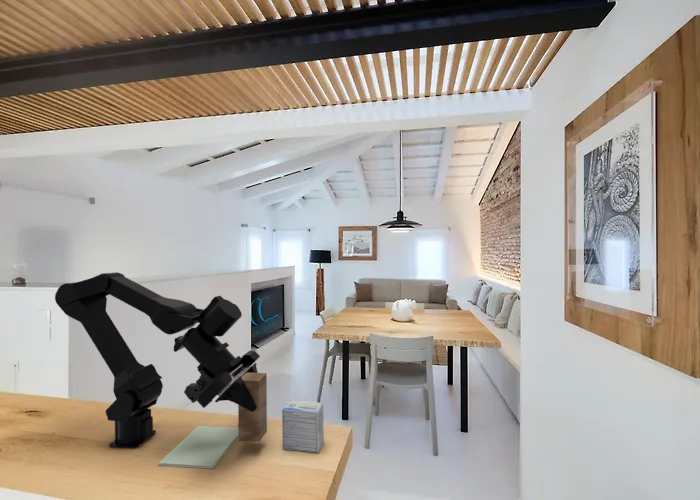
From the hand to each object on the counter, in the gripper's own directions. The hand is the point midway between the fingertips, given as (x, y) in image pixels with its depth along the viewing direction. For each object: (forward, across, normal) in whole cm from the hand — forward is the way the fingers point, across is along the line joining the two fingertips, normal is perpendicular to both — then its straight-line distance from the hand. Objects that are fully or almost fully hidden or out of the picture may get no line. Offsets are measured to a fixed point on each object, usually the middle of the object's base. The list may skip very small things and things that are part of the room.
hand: (259, 404), depth 72 cm
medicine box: (+13, -2, 0) cm, 13 cm away
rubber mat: (-2, 0, -15) cm, 15 cm away
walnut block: (+4, 0, -6) cm, 7 cm away
